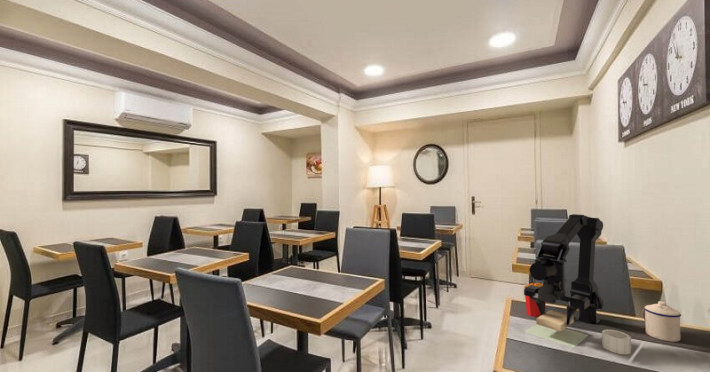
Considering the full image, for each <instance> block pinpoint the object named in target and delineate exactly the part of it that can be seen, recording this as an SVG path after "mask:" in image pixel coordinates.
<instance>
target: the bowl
mask: <svg viewBox="0 0 710 372" xmlns="http://www.w3.org/2000/svg"><path fill="white" fill-rule="evenodd" d="M601 344H602V347H603V349H605V350H607V351H609V352H612V353H615V354H620V355H630V354H632V337H631V335H629V334H627V333H625V332H622V331H620V330H616V329H603V330H602V331H601Z"/></svg>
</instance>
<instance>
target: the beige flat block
mask: <svg viewBox="0 0 710 372" xmlns="http://www.w3.org/2000/svg"><path fill="white" fill-rule="evenodd" d="M535 318H536V321H535V322H536V324H538V325H541V326H544V327H547V328H551V329H554V330H557V331H560V332H561V331H562V330H564V329H565V328H566V329H567V328H568V327H570V325H572V324H573V323H574V322H575V316H574V315H573V318H572V320H571V322H570V324H569V325H567V313H563V312H560V311H556V310H552V309H550V310H548V311H547V312H546V311H545V314H543V315H541V316H538V317H535ZM536 324H535V325H536Z"/></svg>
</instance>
